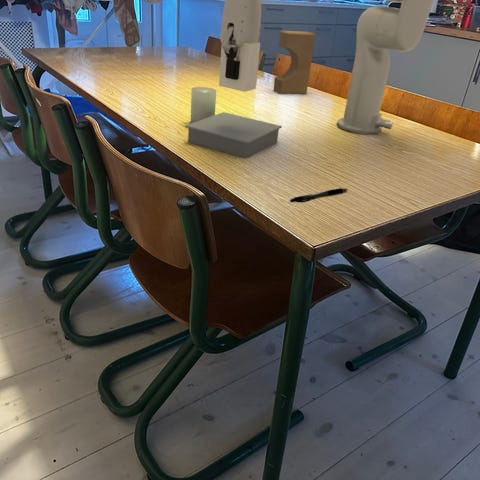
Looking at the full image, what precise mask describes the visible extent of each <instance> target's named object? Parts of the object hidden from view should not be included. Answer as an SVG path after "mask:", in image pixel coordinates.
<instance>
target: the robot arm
mask: <svg viewBox="0 0 480 480" xmlns="http://www.w3.org/2000/svg"><path fill="white" fill-rule="evenodd" d="M386 1H388V2H395V3H401V4H400V8H396V7H391V6H385V5H375V6H374V5H373V6H371V7H369V8H367V9H365V10H364V11H363V12H362V13H361V15H360V16H359V18H358V21H357V25H356V47H355V55H354V61H353V68H352V72H351V76H350V77H351V78H350V82H349V86H348V87H349V88H348V93H347V98H346V104H345V108H344V109H345V110H344V113H343V118H339V119H337V121H336V125H337V127H339V129H342V130H344V131H348V132H351V133H355V134H356V133H357V134H365V135H374V134H379V133H381V131H382V128H384V129H388V130H391V129H392V128H393V124H394V123H393V122H394V121H393V122H392V121H391V120H390V119H383V117H382V116H383V113H380V111H381V107H382V103H383V98H384V94H385V90H386V85H387V80H388V76H389V72H390V67H391V59H390V52H389V50H391V51H395V52H398V53H399V52H402V53H407V52H409V51H412V50H413V49H414V48H416V47H417V45H418V44H419V43H420V41H421V38H422V36H423V33H424V31H425V28H426V26H427V22H428V19H429V16H430V13H431V11H432V7H433V4H434V1H435V0H386ZM261 23H262V0H225V1H224V6H223V12H222V19H221V26H220V27H221V29H220V39H219V40H220V43H221V47H222V48H223V49H224V52H225V54H226V56H225V59H226V73H225V77H226V78H229V79H234V80H238V78H239V68H240V61H238V59H239V55H240V49H241V47H242V46H243V45H244V43H250V42H259V43H260V36H261V35H260V33H261V27H262V26H261ZM232 42H236V43H235V44H236V45H233V44H231V43H232ZM233 48H235V49H236V51H235V52H234V50H233Z"/></svg>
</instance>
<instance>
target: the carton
mask: <svg viewBox="0 0 480 480" xmlns="http://www.w3.org/2000/svg"><path fill="white" fill-rule="evenodd" d="M235 43H236V42H232V43H231V44H233V45H236V44H235ZM260 49H261V42H260V41H259V42H250V43H244V45H243V46H242V47H241V49H240V55H239V59H238V61H240V68H239V78H238V80H234V79H229V78H226V77H225V73H226V59H225V56H226V54H225V52H224V49H223V48H222V46H221V50H220V63H219V65H220V66H219V77H218V78H219V79H218V87H223V88H227V89H231V90H234V91H241V92H250V91H252V90H256V87H257V78H258V72H259V71H258V70H259V69H258V68H259V61H260V51H261V50H260ZM233 50H234V52H235V51H236V49H235V48H233Z"/></svg>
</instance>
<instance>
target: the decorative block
mask: <svg viewBox="0 0 480 480" xmlns="http://www.w3.org/2000/svg"><path fill="white" fill-rule="evenodd" d="M278 38H279V40H278V46H279V47H282V48H284V49H286V51H288V54H289V55H290V65H289V66H288V68H287V70H286V71H285V72H284V73H283V74H281V75H278V76H275V77H274V82H273V91H274V92H276V93H278V94H279V95H307V94H308V86H309V80H310V73H311V66H312V60H313V59H312V58H313V54H314V53H313V52H314V48H315V47H314V46H315V39H316V34H315V33H314V32H310V31H298V30H280V33H279V37H278Z"/></svg>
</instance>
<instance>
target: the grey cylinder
mask: <svg viewBox="0 0 480 480" xmlns="http://www.w3.org/2000/svg"><path fill="white" fill-rule="evenodd" d="M190 93H191V98H190V99H191V100H190V122H189V124H190V123H194V122H197V121H200V120H203V119H205V118H208V117H211V116H214V115H216V105H217V104H216V103H217V102H216V101H217V100H216V99H217V89H215V88H212V87H206V86H194V87H192V88H191V92H190Z"/></svg>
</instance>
